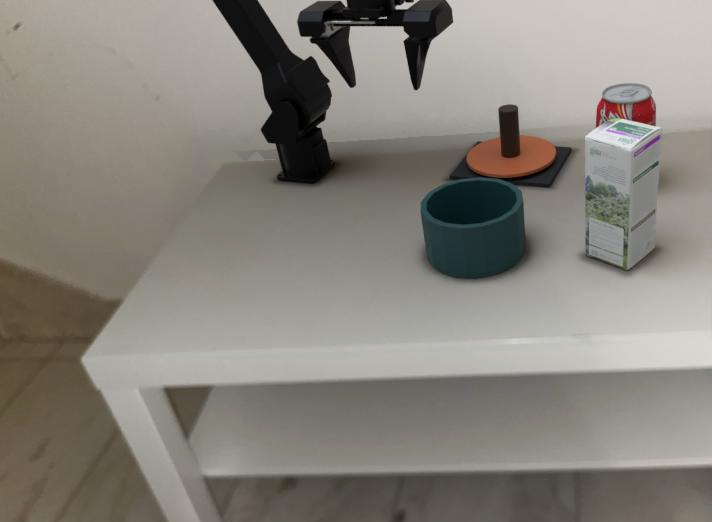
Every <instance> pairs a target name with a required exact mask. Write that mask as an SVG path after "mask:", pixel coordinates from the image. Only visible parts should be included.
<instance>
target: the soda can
mask: <svg viewBox="0 0 712 522" xmlns="http://www.w3.org/2000/svg"><path fill="white" fill-rule="evenodd" d="M652 94H653V91H652V89H651V87H649V86H647V85H645V84H643V83H642V84H641V83H635V82H624V83H623V82H622V83H616V84H613V85H610V86H608V87H605V89H602V92H601V98H600V100H599V102H598V104H597V106H596V113H595V129H596V128H597V127H598V126H600V125H601V124H603V123H605V122H606V121H609V120H611V119H612V118H615V117H616V118H621V119H625V120H630V121H634V122H639V123H643V124H647V125H651V126H656V127H657V105H656V101H655V100H654V98H653V96H652Z"/></svg>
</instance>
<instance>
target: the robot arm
mask: <svg viewBox="0 0 712 522" xmlns="http://www.w3.org/2000/svg"><path fill="white" fill-rule="evenodd" d="M211 1H212V2H213V3H214V6H215V8H217V10H218V11H219V12H220V15H222V17H223V19H224V20H225V21H226V23H227V25H228V26H229V27H230V29H231V31H232V32H233V34H234V35H235V36H236V38H237V39H238V41H239V43H240V44H241V45H242V47H243V48H244V50H245V51H246V53H247V54H248V56H249V57H250V59H251V60H252V62H253V63H254V66H255V67H256V68H257V69H258V71H259V73H260V77H261V83H262V89H263V96H264V99H265V101H266V103H267V105H268V107H269V108H270V111H271V112H270V113H269V116H268V117H267V118H266V120H265V122H264V123H263V125H262V126H261V128H260V132H261V133H262V136H263V137H264V139H265V141H266V142H267V143H268V144H272V145H273V144H275V148H276V152H277V156H278V159H279V163H280V164H279V165H280V168H281V171H280V172H279V173H278V174H276V179H277V180H281V181H290V182H291V181H292V182H302V183H316V182H317V181H318V180H319V179H321V178H322V177H323V176H324V175H325V174H326V173H327V172H328V171H329V170H331V168H332V167H334V165H336V160H335V159H333V158H332V159H331V154H330V150H329V145H328V140H327V139H326V138H325V137H324V133H323V129H322V127H319V125H320V124H321V123H323V122H324V121H326V119H327V111H328V110H329V109H330V106H331V105H332V97H333V93H332V90H331V87H330V86H329V83H330V82H331V80H330V79H329V78H328V77H327V76H326V75H325V74H324V73H323V71H322V70H321V68H320V66H319V64H318V62H317V59H316V58H314V56H312V55H310V56H308V57H307V58H305V59H303V58H302V57H300V56H299V55H297V54H295V53H293V51H291V49H290V48H289V46H288V45H287V44H286V41H285V40H284V38H283V37H282V35H281V33H280V32H279V30H278V29H277V28H276V26H275V25H274V23H273V22H272V20H271V19H270V17H269V15H268V14H267V12H266V11H265V9H264V7H263V6H262V4H261V3H260V2H259V0H211ZM414 2H415V0H346V5H345V4H344V2H343V1H341V0H317V1H315V2H314V3H312V4H310V5H308V6H306V7H305V8H304V9H301V10H300V11H299V13H298V16H297V20H296V25H297V28H298V33H299V36H300V37H301V38H309V43H310V44H311V45H312V44H314V45H316V46H317V47H318V48H319V49H320V50H321V51H322V53H323V54H324V55H325V56H326V57H327V59H328V60H330V62H331V64H332V65H333V66H334V68H335V69H336V70H337V71H338V73H339V75H340V76H341V78H342V79H343V80H344V81H345V83H346V84H347V86H348V88H350V89H354V88H355V87H356V86H357V79H356V70H355V65H354V61H353V55H352V50H351V46H350V45H351V44H350V33H351V27H395V28H396V27H401V28H402V27H403V32H404V33H405V34H406V35H407V36H408V37H407V38H405V39H404V40H403V46H404V52H405V57H406V61H407V67H408V73H409V76H410V77H409V78H410V82H411V85H412V88H413V90H414V91H418V90H419V89H420V88H421V84H422V79H423V76H424V75H423V74H424V70H425V64H426V61H427V56H428V53H429V49H430V47H431V46H430V45H431V43H432V41H433V40H435V39H436V38H437V37H438V36H440V35H441V34H442V33H443V32H444V31H445V30H447V29H448V28H449V27H450V26H452V24H454V16H453V8H452V7H451V5H450V3H449V2H448V1H447V0H418V1H416V2H415V3H414ZM404 3H408V4H410V3H412V4H411V6H409V7H408V8H397V7H398V6H402V5H403V4H404Z"/></svg>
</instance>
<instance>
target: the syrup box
mask: <svg viewBox="0 0 712 522" xmlns="http://www.w3.org/2000/svg"><path fill="white" fill-rule="evenodd" d="M662 132H663V128H662V127H661V126H657V125H656V126H651V125H647V124H643V123H639V122H634V121H630V120H625V119H621V118H616V117H615V118H612V119H611V120H609V121H606V122H605V123H603V124H601V125H600V126H598V127H597V128H596V127H595V128H594V129H593V130H591V131H590V132H589V133H588V134H586V135H585V136H584V218H585V219H584V224H585V225H584V232H585V233H584V234H585V239H584V240H585V243H584V246H585V248H584V249H585V256H587V257H589V258H592V259H595V260H597V261H601V262H603V263H606V264H609V265H611V266H614V267H617V268H619V269H622V270H625V271H629V270H630V269H631V268H633V267H634V266H636V265H637V264H638V263H639V262H640V261H642V259H644V258H645V257H646V256H648V255H649V254H650V253H651V252H652V251H653V250H655V249H656V248H655V247H656V234H657V233H656V231H657V229H656V227H657V210H658V195H659V181H660V169H661V168H660V167H661V166H660V165H661V155H662V136H663V133H662Z"/></svg>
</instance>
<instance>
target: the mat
mask: <svg viewBox="0 0 712 522" xmlns="http://www.w3.org/2000/svg"><path fill="white" fill-rule="evenodd" d="M482 142H483V141H476V143H475V144H474V145H473V146H472V148H473V147H475V146H476V145H478V144H480V143H482ZM553 146H554V147H555V149H556V157H555V160H554V161H553V162H552V163H551V164H550V165H549V166H548V167H546V168H545V169H543V170H541V171H538V172H536V173H533V174H529V175H525V176H520V177H511V178H497V177H489V176H485V175H481V174H478V173H476V172H474V171H473V170H471V169H470V168H469V166H468V165H467V154H466V155H465V156H464V157H463V158H462V160H461V161H460V162H459V163H458V164H457V166H456V167H455V169H453V170H452V172H451V173H450V174H449V179H450V180H459V179H467V178H477V177H482V178H495V179H500V180H503V181H506V182H509V183H512V184H514V185H517V186H528V187H529V186H530V187H540V188H541V187H543V188H550V187H551V185H552V183H553V182H554V180H555V178H556V177H557V175H558V174H559V172H560V170H561V169H562V168H563V165H564V164H565V162H566V160H567V159H568V157H569V156H570V154H571V153H572V147H570V146H555V145H553Z"/></svg>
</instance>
